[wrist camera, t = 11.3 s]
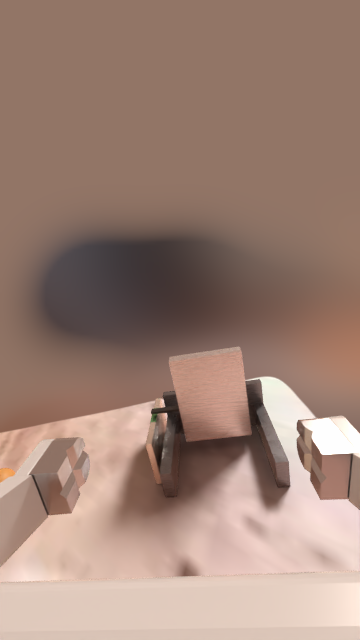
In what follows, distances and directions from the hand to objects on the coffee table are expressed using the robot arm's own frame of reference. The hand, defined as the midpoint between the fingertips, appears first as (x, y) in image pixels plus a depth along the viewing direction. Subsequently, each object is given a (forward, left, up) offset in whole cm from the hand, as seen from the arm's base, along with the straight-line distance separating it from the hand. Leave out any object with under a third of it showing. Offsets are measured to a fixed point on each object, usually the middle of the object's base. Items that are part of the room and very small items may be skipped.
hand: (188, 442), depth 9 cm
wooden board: (-2, +24, -22) cm, 32 cm away
